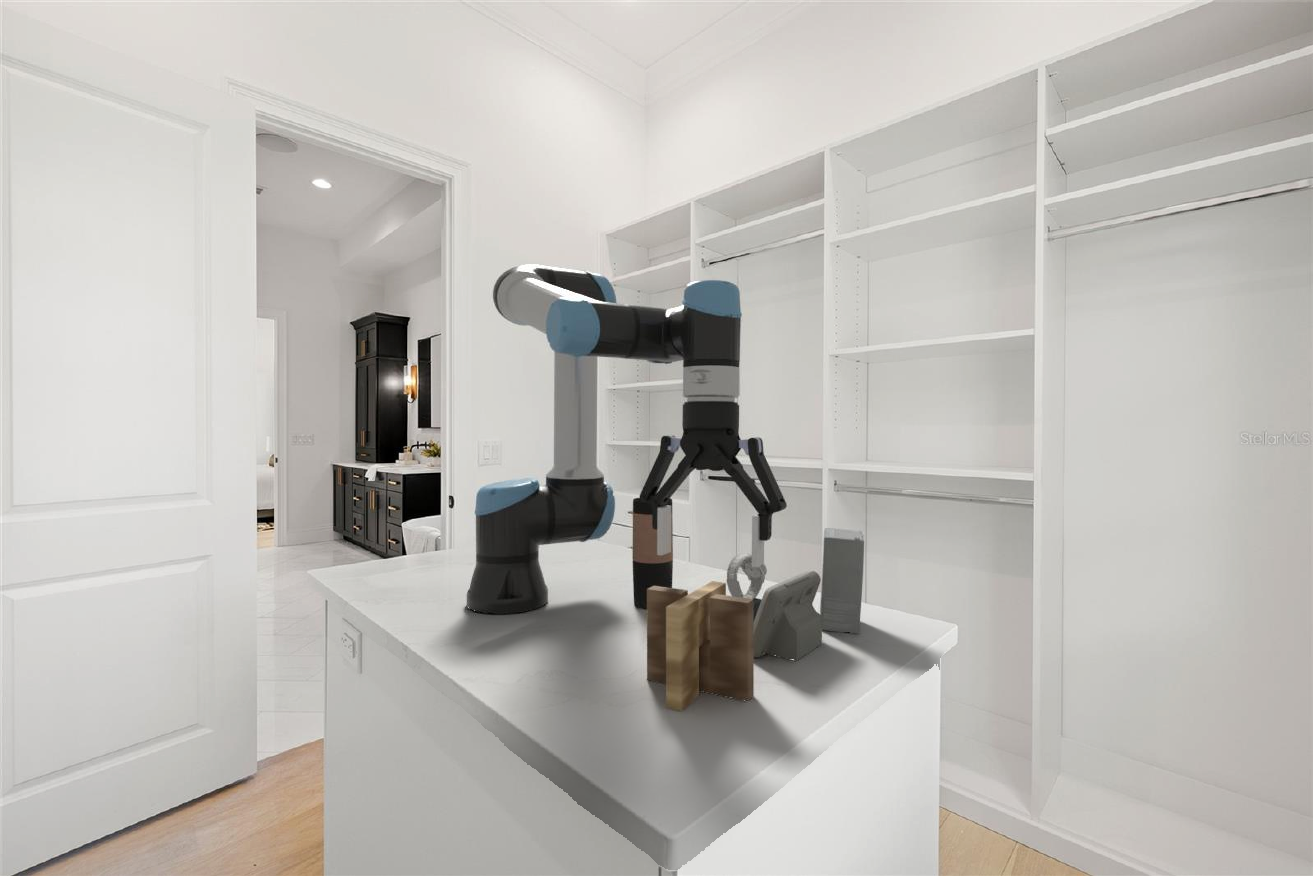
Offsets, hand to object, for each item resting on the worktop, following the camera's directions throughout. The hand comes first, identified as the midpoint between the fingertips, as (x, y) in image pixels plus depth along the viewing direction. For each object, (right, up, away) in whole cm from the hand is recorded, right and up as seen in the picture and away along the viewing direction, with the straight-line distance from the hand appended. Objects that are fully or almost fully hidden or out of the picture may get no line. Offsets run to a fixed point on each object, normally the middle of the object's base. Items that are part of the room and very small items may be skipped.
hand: (709, 559), depth 82 cm
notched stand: (-2, -16, -4) cm, 16 cm away
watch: (+9, -16, +26) cm, 31 cm away
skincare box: (+24, -16, +21) cm, 36 cm away
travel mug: (-8, -16, +34) cm, 38 cm away
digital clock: (+12, -16, +11) cm, 23 cm away
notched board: (-2, -16, -4) cm, 16 cm away
